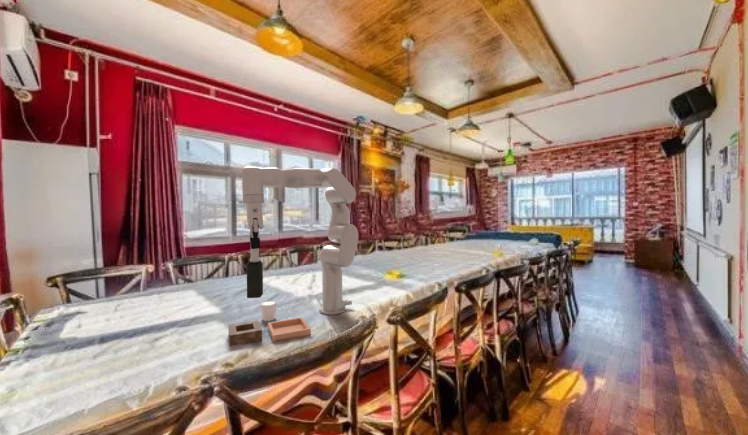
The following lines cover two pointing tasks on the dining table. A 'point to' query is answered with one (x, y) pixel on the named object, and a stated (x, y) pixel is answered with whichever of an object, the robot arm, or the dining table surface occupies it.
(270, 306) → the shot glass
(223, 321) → the dining table surface
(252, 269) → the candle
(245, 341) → the block
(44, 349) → the dining table surface
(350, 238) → the robot arm
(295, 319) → the tray
